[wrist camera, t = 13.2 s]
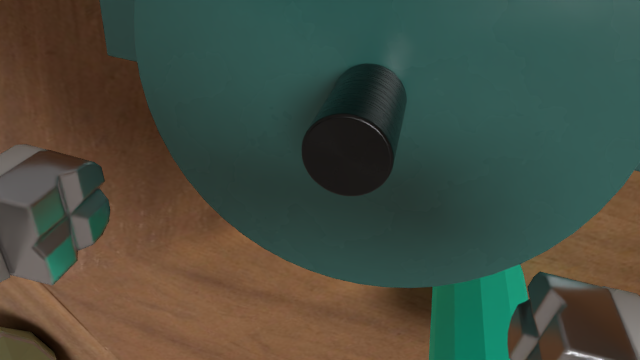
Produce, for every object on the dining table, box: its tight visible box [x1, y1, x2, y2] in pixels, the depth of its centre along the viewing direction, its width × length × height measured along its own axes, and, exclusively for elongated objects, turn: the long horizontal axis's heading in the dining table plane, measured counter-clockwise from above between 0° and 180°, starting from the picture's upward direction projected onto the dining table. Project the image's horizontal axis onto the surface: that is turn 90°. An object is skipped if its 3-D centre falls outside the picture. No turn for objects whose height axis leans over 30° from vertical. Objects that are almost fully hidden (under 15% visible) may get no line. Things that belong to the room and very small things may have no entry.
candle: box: [429, 264, 528, 360], centre depth 26 cm, size 6×6×12 cm
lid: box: [133, 0, 640, 288], centre depth 13 cm, size 17×17×5 cm
